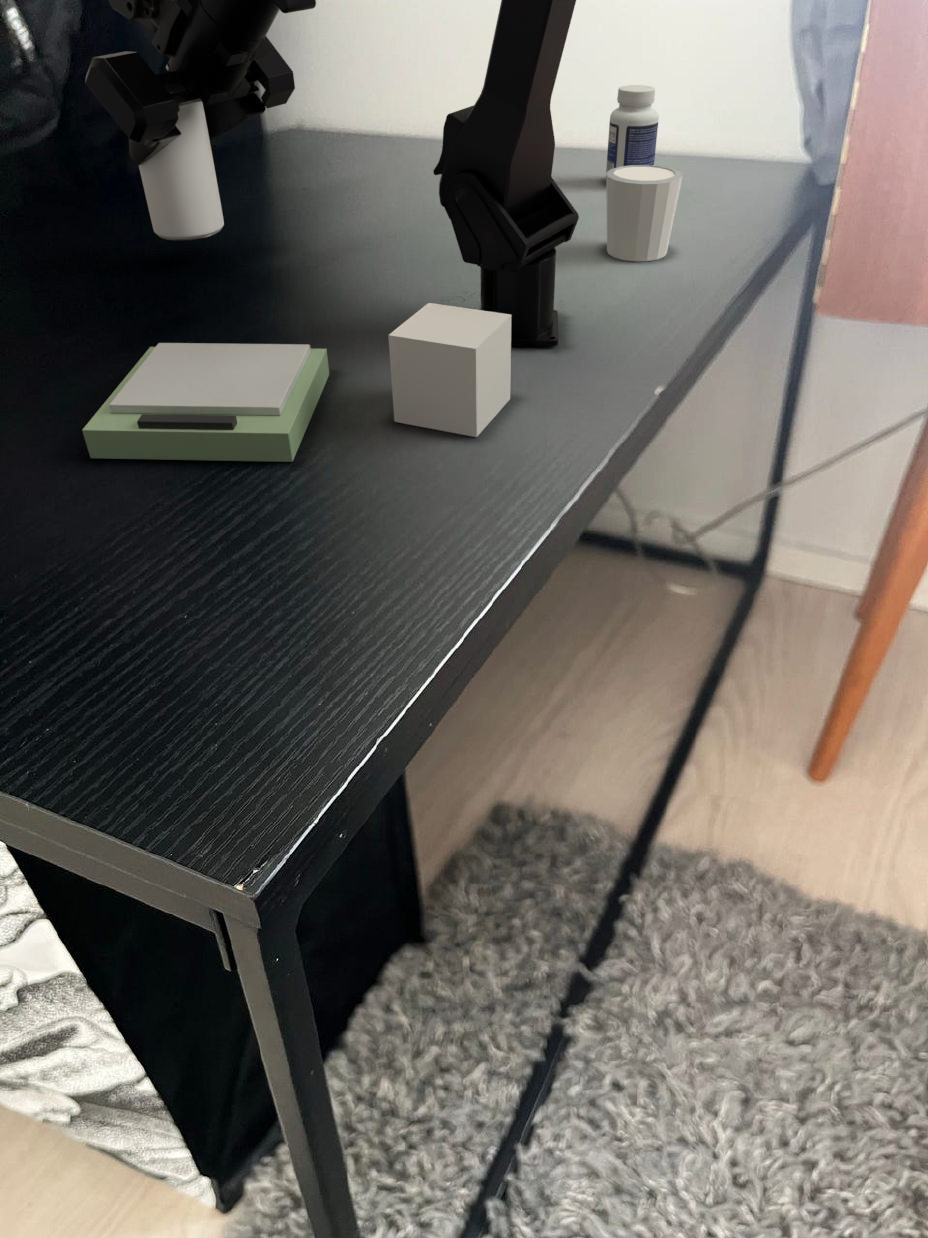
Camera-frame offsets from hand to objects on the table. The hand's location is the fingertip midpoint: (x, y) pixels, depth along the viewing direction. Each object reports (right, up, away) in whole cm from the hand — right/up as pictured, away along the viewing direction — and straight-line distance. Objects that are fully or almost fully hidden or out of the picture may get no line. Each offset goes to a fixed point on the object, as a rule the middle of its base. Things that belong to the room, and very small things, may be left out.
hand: (163, 152), depth 84 cm
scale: (+10, -28, -20) cm, 36 cm away
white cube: (+26, -28, -20) cm, 43 cm away
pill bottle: (+46, +9, +25) cm, 53 cm away
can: (+1, -6, +4) cm, 7 cm away
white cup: (+43, -7, +6) cm, 44 cm away
